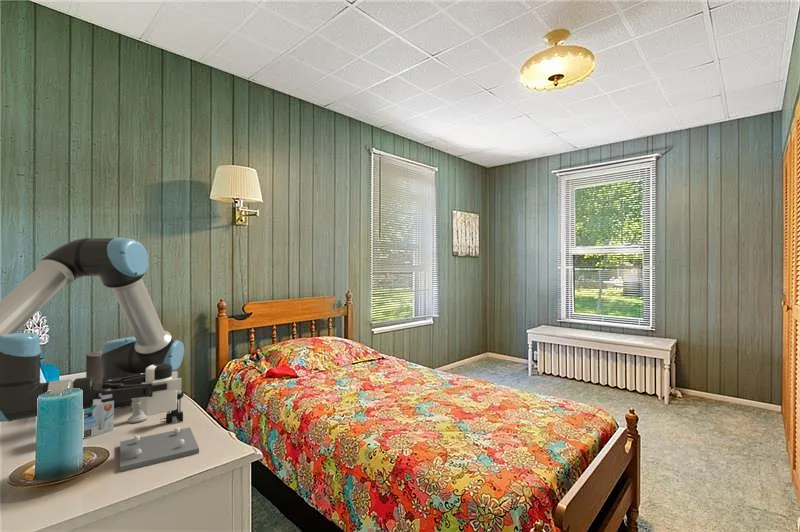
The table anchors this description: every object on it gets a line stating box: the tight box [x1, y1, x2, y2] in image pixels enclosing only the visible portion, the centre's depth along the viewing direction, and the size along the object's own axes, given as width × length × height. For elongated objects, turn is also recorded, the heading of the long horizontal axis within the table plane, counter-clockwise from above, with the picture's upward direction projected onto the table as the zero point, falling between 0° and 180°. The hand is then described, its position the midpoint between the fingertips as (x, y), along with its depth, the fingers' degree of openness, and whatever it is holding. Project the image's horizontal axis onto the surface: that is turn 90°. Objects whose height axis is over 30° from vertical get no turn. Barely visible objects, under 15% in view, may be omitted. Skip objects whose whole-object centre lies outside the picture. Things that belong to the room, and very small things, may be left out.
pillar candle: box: [85, 349, 102, 385], centre depth 165 cm, size 10×10×15 cm
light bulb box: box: [83, 399, 115, 440], centre depth 118 cm, size 11×7×11 cm, turn 148°
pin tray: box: [119, 426, 200, 473], centre depth 107 cm, size 17×17×3 cm
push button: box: [159, 388, 185, 424], centre depth 126 cm, size 7×5×10 cm
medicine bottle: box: [141, 363, 177, 417], centre depth 107 cm, size 7×7×12 cm
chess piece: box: [126, 397, 148, 424], centre depth 128 cm, size 5×5×9 cm
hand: (179, 379), depth 110 cm, fingers closed on medicine bottle, 8 cm apart
